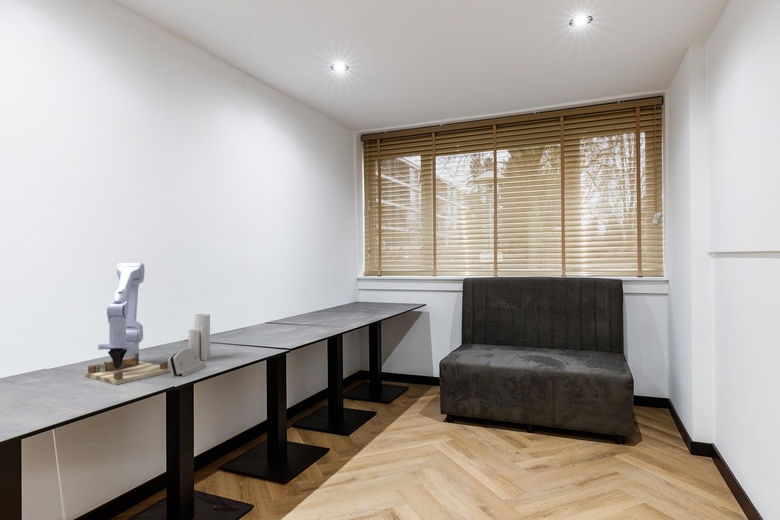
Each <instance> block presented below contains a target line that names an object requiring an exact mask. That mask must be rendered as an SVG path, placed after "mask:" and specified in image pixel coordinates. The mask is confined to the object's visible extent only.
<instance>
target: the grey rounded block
mask: <svg viewBox="0 0 780 520" xmlns="http://www.w3.org/2000/svg"><path fill="white" fill-rule="evenodd" d="M167 362H168V367H170V371H171V372H170V375H171V377H174V376H178V375H181V376H182V378H183V377H186V376H187V375H190V374H192V373H194V372H196V371H199V370H201V369H203V368H205V367H206V365H205V362H204V361H201V360H200V358H199V355H198V353H197V351H196V349H189V348H184V349H181V350H178V351H176V352H175V353H173V354H172V355H170V356H169V358H168V360H167Z"/></svg>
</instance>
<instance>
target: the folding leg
mask: <svg viewBox="0 0 780 520" xmlns="http://www.w3.org/2000/svg"><path fill="white" fill-rule="evenodd" d="M108 361H109V362H105V361H103V364H106V371H110V370H115V369H119V368H115V366H114V363H113V361H111V360H108ZM132 365H136V357H128V358H123V360H122V364H121V367H120V368H123V367H128V366H132Z"/></svg>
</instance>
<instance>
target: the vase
mask: <svg viewBox="0 0 780 520" xmlns="http://www.w3.org/2000/svg"><path fill="white" fill-rule="evenodd" d="M193 318H194V322H193V323H194V328H193V329H189V330H188V349H196V351H197V353H198V355H199V358H200V359H201V360H205V361H208V359H210V358H211V314H210V313H196V314H194V317H193ZM207 358H208V359H207Z"/></svg>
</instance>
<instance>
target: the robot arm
mask: <svg viewBox="0 0 780 520" xmlns="http://www.w3.org/2000/svg"><path fill="white" fill-rule="evenodd" d="M116 275H117V277H118V280H119V284H118V288H117V289H115V291H114V293H113V295H112V300H111V303H110V304H108V305H107V308H106V316H107V323H108V324H109V327H108V329H109V332H108V334H109V338H108V339H109V342H108V343H100V344H98V345H97V346H98V348H97V349H98V350H99V351H100V350H108V351H107V353H108V355H109V356H110V357H111V360H113V363H114V366H115V368H120V367H121V364H122V360H123V358H128V357H134V354H135V353H139V354H140V350H139V349H140V343H141V342H142V341H143V339H144V327H143V324H142V323H140V322H139V321H137V314H138V313H137V312H138V311H137V309H138V301H139V299H138V298H139V288H140V287H139V286H140V284H142V283H143V282H144V279H145V264H144V263H143V262H118V264H117V265H116Z"/></svg>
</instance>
